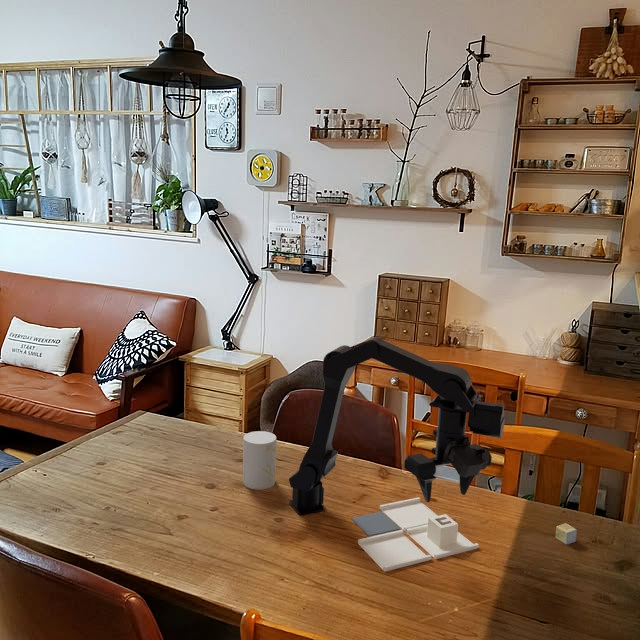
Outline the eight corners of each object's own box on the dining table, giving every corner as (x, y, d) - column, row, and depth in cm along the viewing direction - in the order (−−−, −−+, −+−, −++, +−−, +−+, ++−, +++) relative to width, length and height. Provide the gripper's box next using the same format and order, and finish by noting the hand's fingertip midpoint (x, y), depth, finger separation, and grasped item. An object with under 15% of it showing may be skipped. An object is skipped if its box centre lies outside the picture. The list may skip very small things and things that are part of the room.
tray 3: (435, 559, 131) (435, 555, 131) (406, 533, 141) (406, 529, 141) (478, 548, 136) (478, 544, 136) (447, 523, 146) (447, 519, 146)
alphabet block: (565, 545, 139) (567, 532, 138) (554, 538, 142) (556, 525, 141) (575, 542, 140) (577, 529, 140) (564, 535, 143) (566, 522, 143)
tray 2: (384, 572, 126) (384, 567, 126) (357, 543, 136) (357, 539, 136) (430, 560, 131) (431, 556, 131) (401, 533, 141) (402, 529, 141)
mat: (368, 537, 139) (368, 535, 139) (351, 519, 146) (351, 517, 146) (399, 529, 142) (400, 528, 142) (381, 513, 149) (381, 511, 149)
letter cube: (439, 547, 136) (440, 527, 135) (426, 536, 140) (428, 517, 139) (456, 543, 138) (458, 523, 137) (443, 532, 141) (445, 513, 141)
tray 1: (405, 532, 141) (405, 528, 141) (379, 509, 151) (379, 505, 151) (445, 522, 146) (446, 518, 146) (418, 501, 156) (418, 497, 156)
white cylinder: (270, 491, 158) (271, 445, 155) (238, 487, 159) (239, 441, 157) (278, 477, 165) (280, 433, 163) (248, 473, 167) (249, 429, 165)
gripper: (437, 449, 122) (431, 524, 125) (513, 436, 130) (505, 507, 133) (405, 429, 132) (400, 499, 135) (477, 418, 140) (471, 484, 143)
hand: (445, 497), depth 137 cm, fingers open, 9 cm apart
